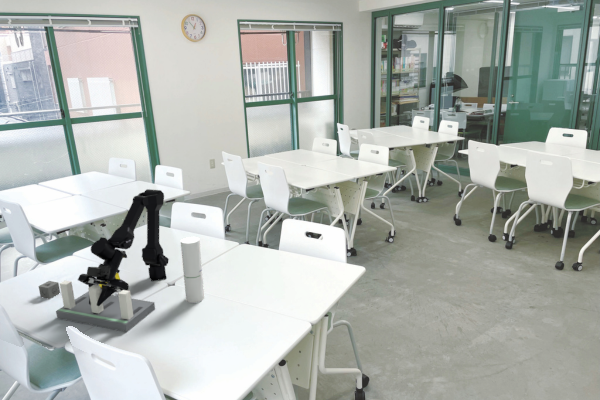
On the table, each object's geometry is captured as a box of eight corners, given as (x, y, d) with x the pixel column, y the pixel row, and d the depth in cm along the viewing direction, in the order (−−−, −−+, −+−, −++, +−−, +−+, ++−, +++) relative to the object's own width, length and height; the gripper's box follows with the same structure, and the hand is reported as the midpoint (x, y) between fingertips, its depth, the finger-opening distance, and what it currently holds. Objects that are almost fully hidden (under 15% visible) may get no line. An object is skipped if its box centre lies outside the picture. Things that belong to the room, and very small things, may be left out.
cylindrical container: (207, 295, 176) (203, 237, 169) (198, 304, 169) (193, 244, 163) (192, 293, 178) (187, 235, 171) (182, 301, 172) (176, 242, 165)
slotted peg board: (89, 297, 175) (84, 268, 172) (155, 309, 166) (151, 278, 163) (57, 318, 161) (51, 286, 157) (127, 332, 152) (122, 298, 148)
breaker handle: (97, 308, 161) (93, 285, 158) (103, 310, 160) (100, 286, 157) (92, 312, 158) (88, 288, 156) (98, 313, 157) (95, 289, 155)
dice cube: (40, 297, 177) (38, 286, 175) (51, 291, 181) (49, 280, 180) (50, 299, 175) (47, 287, 174) (60, 293, 180) (58, 282, 178)
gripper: (77, 253, 160) (58, 294, 153) (119, 259, 154) (101, 302, 147) (96, 264, 169) (78, 303, 162) (136, 270, 164) (120, 311, 157)
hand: (93, 305), depth 157 cm, fingers closed on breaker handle, 3 cm apart
